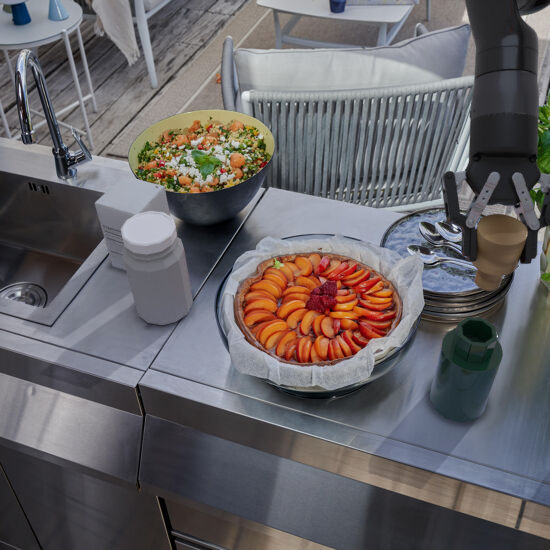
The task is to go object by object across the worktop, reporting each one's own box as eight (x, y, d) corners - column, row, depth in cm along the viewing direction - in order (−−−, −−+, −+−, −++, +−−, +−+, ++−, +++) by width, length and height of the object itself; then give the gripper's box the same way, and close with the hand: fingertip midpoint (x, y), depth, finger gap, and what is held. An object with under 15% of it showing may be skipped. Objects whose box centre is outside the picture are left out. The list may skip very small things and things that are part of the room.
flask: (482, 380, 97) (504, 311, 86) (488, 425, 91) (512, 357, 81) (428, 376, 98) (444, 306, 87) (431, 420, 92) (448, 352, 82)
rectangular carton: (138, 237, 124) (123, 173, 113) (178, 249, 121) (166, 184, 110) (110, 267, 118) (92, 202, 107) (151, 280, 115) (137, 215, 104)
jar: (140, 289, 113) (120, 208, 101) (195, 286, 113) (182, 205, 101) (133, 330, 106) (111, 249, 94) (192, 327, 106) (177, 246, 94)
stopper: (507, 268, 81) (523, 214, 75) (513, 300, 77) (531, 246, 71) (462, 265, 82) (475, 212, 76) (466, 296, 78) (479, 243, 72)
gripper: (447, 108, 72) (441, 258, 71) (580, 110, 70) (574, 263, 70) (435, 125, 79) (430, 261, 79) (555, 127, 78) (550, 266, 78)
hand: (498, 261), depth 74 cm, fingers closed on stopper, 5 cm apart
